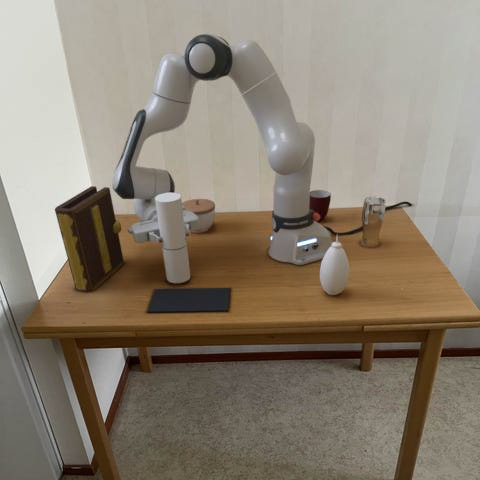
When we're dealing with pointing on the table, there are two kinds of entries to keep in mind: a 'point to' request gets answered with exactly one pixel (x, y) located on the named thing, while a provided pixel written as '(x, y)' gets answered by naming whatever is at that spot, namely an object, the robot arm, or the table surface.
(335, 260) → the white bulb air blower
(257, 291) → the table surface
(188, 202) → the lidded bowl
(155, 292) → the felt mat
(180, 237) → the cylindrical container
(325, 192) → the mug
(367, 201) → the beer glass
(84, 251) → the book
